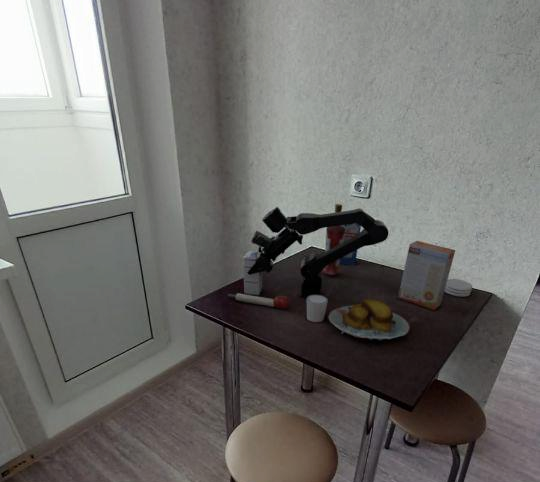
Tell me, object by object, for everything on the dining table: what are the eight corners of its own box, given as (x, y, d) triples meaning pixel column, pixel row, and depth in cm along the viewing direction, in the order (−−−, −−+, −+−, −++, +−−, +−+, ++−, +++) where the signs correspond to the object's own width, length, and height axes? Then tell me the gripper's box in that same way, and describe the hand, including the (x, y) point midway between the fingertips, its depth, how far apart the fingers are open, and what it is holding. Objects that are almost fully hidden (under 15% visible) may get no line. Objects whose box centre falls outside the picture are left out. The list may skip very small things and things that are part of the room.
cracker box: (440, 305, 145) (456, 249, 135) (433, 311, 141) (449, 253, 131) (404, 293, 153) (417, 239, 143) (397, 298, 149) (409, 243, 139)
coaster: (462, 299, 150) (465, 291, 148) (437, 290, 157) (440, 282, 155) (474, 293, 156) (477, 284, 154) (450, 284, 162) (452, 276, 161)
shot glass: (327, 315, 136) (329, 296, 132) (323, 324, 130) (325, 305, 127) (307, 311, 138) (309, 292, 134) (302, 320, 132) (304, 301, 128)
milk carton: (332, 263, 178) (337, 217, 168) (332, 258, 184) (338, 213, 174) (355, 265, 177) (362, 219, 167) (355, 260, 183) (361, 215, 172)
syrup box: (259, 295, 147) (259, 258, 139) (243, 293, 148) (243, 256, 140) (262, 288, 152) (263, 252, 144) (247, 286, 153) (247, 250, 145)
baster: (290, 306, 140) (291, 295, 138) (287, 311, 137) (288, 300, 135) (231, 296, 146) (231, 285, 144) (226, 301, 142) (226, 290, 140)
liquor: (321, 270, 171) (329, 202, 156) (339, 271, 170) (348, 203, 156) (321, 276, 164) (329, 206, 150) (339, 278, 164) (348, 207, 149)
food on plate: (312, 325, 129) (314, 307, 126) (355, 302, 145) (357, 285, 142) (382, 358, 114) (387, 338, 111) (422, 328, 130) (426, 310, 127)
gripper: (268, 217, 145) (237, 245, 151) (263, 232, 129) (229, 263, 135) (288, 240, 149) (257, 266, 155) (286, 258, 133) (252, 286, 139)
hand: (249, 270), depth 146 cm, fingers closed on syrup box, 6 cm apart
